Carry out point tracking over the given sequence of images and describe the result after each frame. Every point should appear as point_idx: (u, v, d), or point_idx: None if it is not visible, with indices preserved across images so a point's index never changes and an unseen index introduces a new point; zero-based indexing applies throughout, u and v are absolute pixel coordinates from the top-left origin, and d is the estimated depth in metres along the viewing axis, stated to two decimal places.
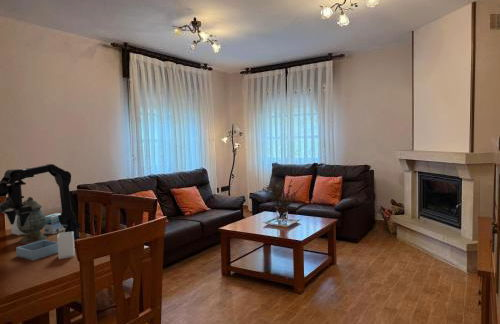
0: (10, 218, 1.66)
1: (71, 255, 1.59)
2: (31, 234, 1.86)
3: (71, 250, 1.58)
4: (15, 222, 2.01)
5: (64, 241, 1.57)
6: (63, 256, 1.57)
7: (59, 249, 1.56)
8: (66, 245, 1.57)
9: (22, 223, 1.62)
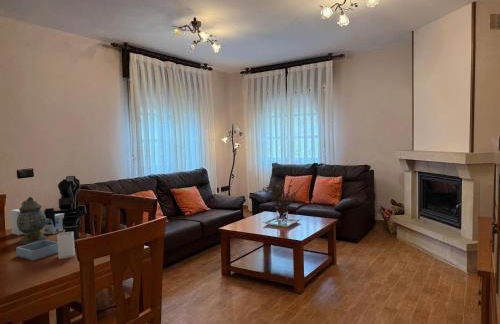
0: (54, 220, 1.66)
1: (71, 255, 1.59)
2: (31, 234, 1.86)
3: (71, 250, 1.58)
4: (15, 222, 2.01)
5: (64, 241, 1.57)
6: (63, 256, 1.57)
7: (59, 249, 1.56)
8: (66, 245, 1.57)
9: (76, 221, 1.70)
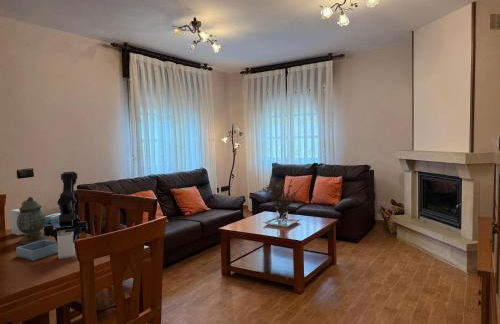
0: None
1: (71, 255, 1.59)
2: (31, 234, 1.86)
3: (71, 250, 1.58)
4: (15, 222, 2.01)
5: (64, 241, 1.57)
6: (63, 256, 1.57)
7: (59, 249, 1.56)
8: (66, 245, 1.57)
9: (75, 239, 1.61)
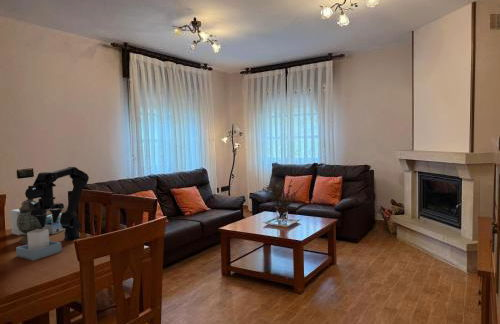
0: (53, 217, 1.79)
1: None
2: None
3: (39, 248, 1.61)
4: (15, 222, 2.01)
5: (33, 238, 1.61)
6: None
7: (29, 245, 1.61)
8: (34, 242, 1.61)
9: (41, 224, 1.69)
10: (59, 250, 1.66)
